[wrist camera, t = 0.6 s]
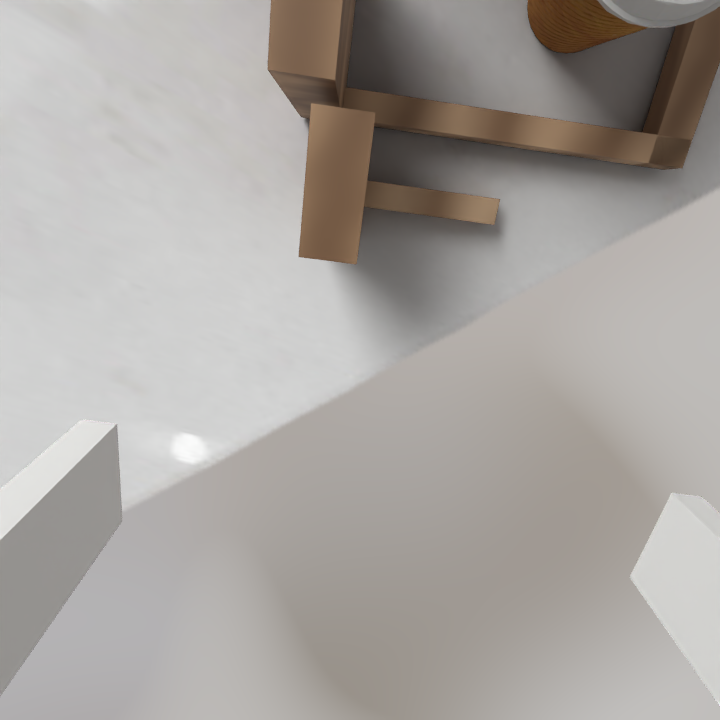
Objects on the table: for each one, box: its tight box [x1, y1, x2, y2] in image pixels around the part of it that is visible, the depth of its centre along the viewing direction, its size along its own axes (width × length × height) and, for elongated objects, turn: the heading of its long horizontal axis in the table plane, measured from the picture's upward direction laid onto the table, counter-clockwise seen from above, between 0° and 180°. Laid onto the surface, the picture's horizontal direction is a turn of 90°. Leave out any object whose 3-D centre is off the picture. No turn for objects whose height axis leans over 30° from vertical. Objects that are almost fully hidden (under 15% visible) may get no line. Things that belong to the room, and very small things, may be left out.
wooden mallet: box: [299, 103, 500, 264], centre depth 28 cm, size 13×7×13 cm, turn 83°
